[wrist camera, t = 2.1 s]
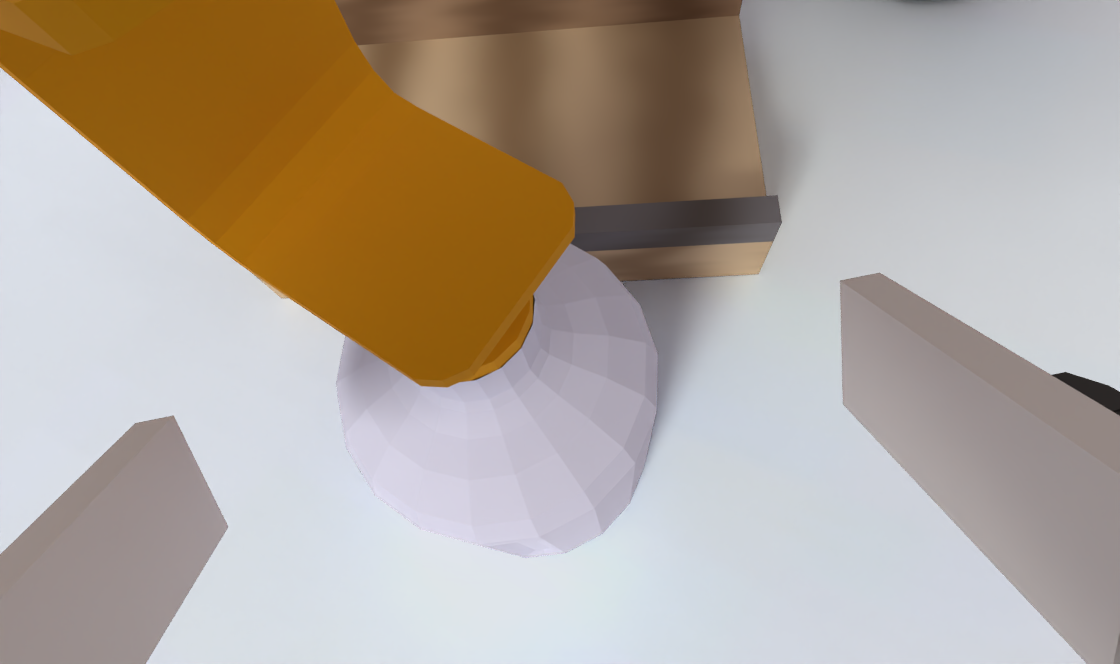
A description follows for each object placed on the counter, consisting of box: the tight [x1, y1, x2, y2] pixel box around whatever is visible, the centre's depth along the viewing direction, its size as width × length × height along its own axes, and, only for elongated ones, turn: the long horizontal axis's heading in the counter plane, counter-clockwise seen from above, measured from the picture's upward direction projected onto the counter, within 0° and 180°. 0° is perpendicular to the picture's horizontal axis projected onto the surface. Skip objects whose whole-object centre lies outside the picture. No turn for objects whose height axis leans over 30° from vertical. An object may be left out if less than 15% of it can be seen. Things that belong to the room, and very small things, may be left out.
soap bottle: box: [0, 0, 658, 558], centre depth 16 cm, size 9×9×25 cm
